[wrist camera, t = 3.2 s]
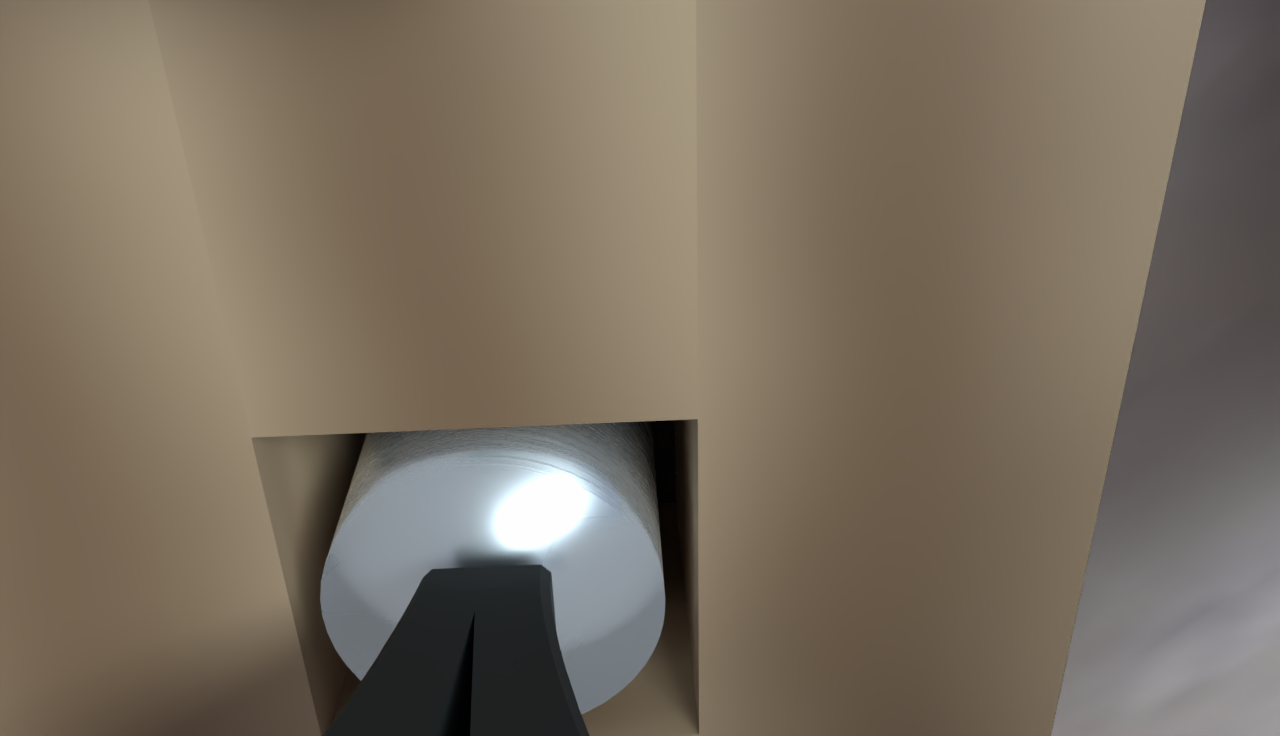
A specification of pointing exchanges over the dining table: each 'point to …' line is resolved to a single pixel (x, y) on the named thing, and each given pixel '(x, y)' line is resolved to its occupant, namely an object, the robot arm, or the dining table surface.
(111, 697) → the socket block
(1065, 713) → the dining table surface
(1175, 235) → the dining table surface
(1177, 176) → the dining table surface
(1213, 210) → the dining table surface
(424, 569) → the peg round
